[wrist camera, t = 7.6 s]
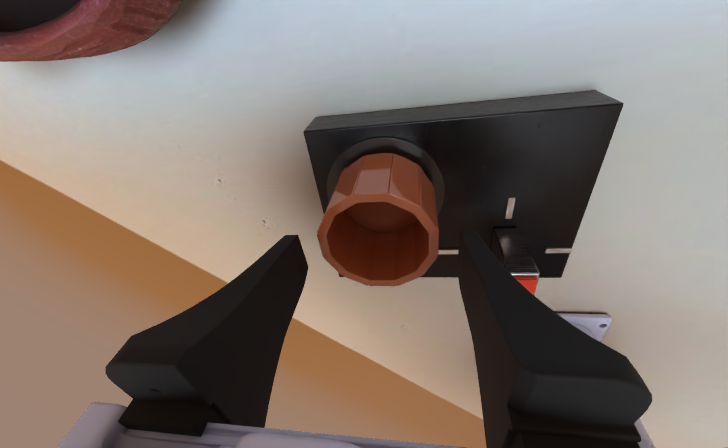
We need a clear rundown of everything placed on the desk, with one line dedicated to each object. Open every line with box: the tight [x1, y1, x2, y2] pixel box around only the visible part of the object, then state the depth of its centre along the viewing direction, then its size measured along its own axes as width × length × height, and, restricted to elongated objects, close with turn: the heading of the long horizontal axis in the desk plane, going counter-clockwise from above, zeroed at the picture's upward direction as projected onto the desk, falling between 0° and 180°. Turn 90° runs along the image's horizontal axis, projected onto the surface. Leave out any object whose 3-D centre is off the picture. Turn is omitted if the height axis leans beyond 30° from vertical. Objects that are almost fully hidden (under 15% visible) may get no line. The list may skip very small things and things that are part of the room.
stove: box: [304, 90, 623, 278], centre depth 19 cm, size 12×15×3 cm
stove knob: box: [491, 228, 540, 295], centre depth 17 cm, size 4×1×4 cm, turn 8°
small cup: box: [317, 153, 439, 286], centre depth 15 cm, size 6×6×4 cm
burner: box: [327, 136, 445, 215], centre depth 17 cm, size 7×7×1 cm
